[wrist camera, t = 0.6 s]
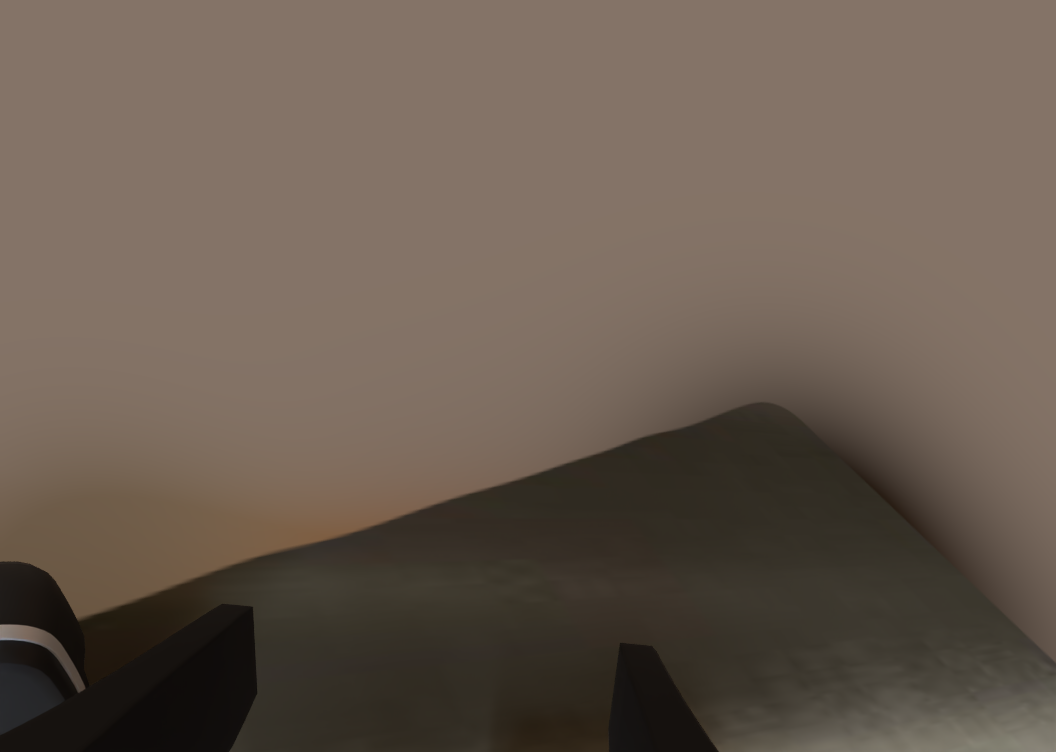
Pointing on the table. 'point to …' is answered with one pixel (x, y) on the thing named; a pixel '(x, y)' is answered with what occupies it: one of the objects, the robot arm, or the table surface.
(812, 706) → the table surface
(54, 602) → the battery charger
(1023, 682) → the table surface
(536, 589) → the table surface
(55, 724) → the robot arm
